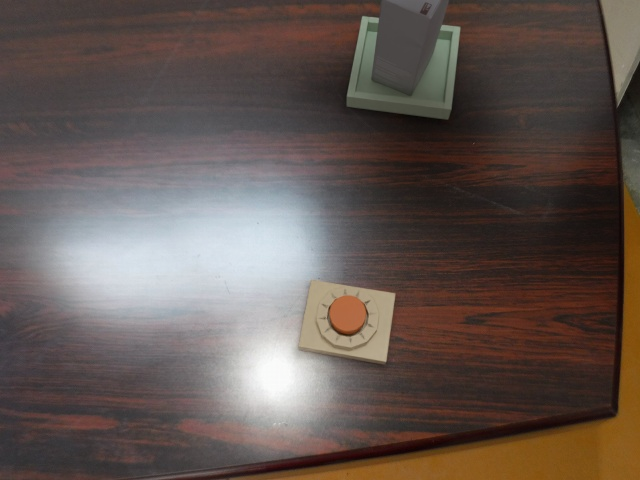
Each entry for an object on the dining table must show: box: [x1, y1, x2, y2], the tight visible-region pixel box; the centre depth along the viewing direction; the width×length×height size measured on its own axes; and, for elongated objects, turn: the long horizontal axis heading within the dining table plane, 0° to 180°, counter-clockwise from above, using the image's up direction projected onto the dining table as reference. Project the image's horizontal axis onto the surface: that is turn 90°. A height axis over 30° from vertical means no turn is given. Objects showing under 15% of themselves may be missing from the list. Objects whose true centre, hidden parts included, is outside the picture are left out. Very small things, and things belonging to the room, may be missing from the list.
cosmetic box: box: [371, 0, 450, 96], centre depth 68 cm, size 8×7×16 cm
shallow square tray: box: [346, 15, 461, 120], centre depth 75 cm, size 14×14×2 cm
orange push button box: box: [297, 279, 396, 366], centre depth 61 cm, size 10×8×4 cm
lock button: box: [330, 295, 366, 334], centre depth 59 cm, size 4×4×2 cm
